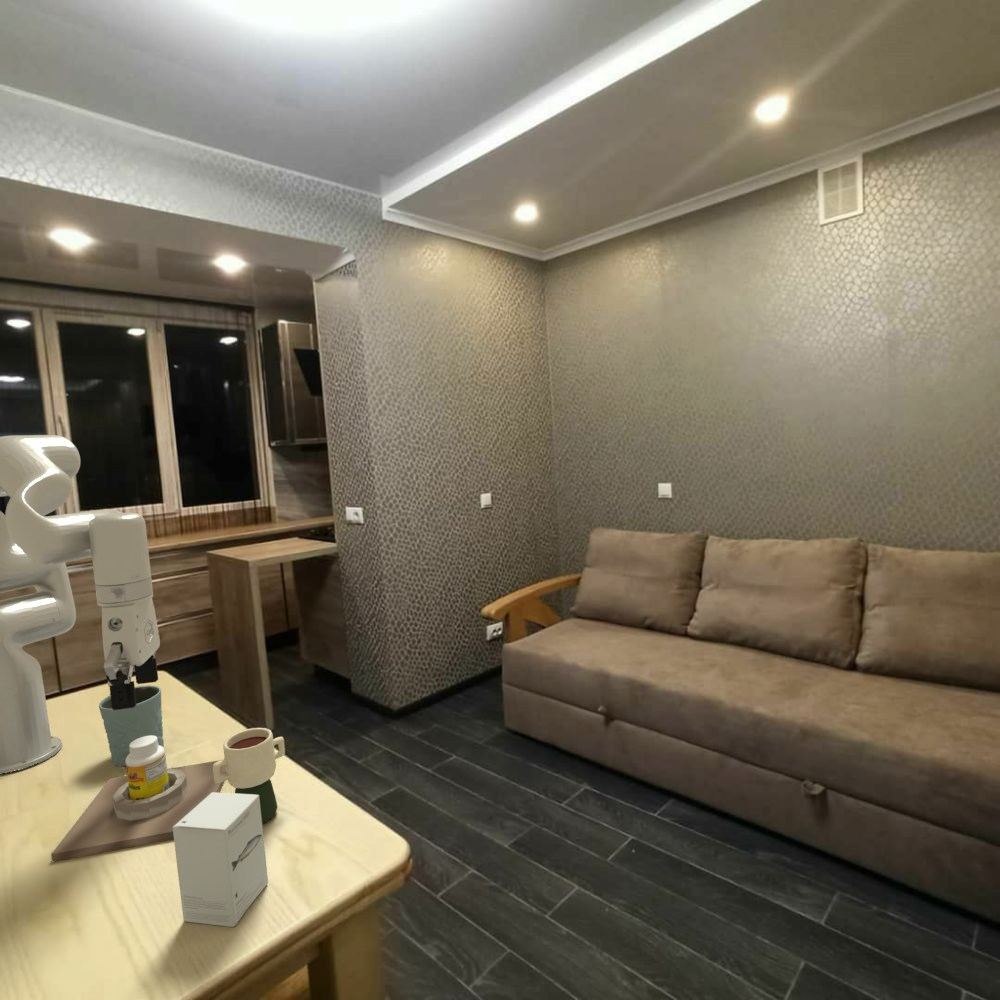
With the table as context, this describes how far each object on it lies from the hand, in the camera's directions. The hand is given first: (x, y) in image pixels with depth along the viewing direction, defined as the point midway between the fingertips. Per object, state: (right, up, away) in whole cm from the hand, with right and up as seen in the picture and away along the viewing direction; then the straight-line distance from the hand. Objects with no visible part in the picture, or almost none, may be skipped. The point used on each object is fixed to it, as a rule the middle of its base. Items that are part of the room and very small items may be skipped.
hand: (136, 694), depth 95 cm
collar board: (+2, -19, +2) cm, 19 cm away
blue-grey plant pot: (-12, -18, +19) cm, 29 cm away
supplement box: (+24, -20, -20) cm, 37 cm away
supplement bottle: (+1, -18, +2) cm, 18 cm away
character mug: (+21, -19, -3) cm, 28 cm away
